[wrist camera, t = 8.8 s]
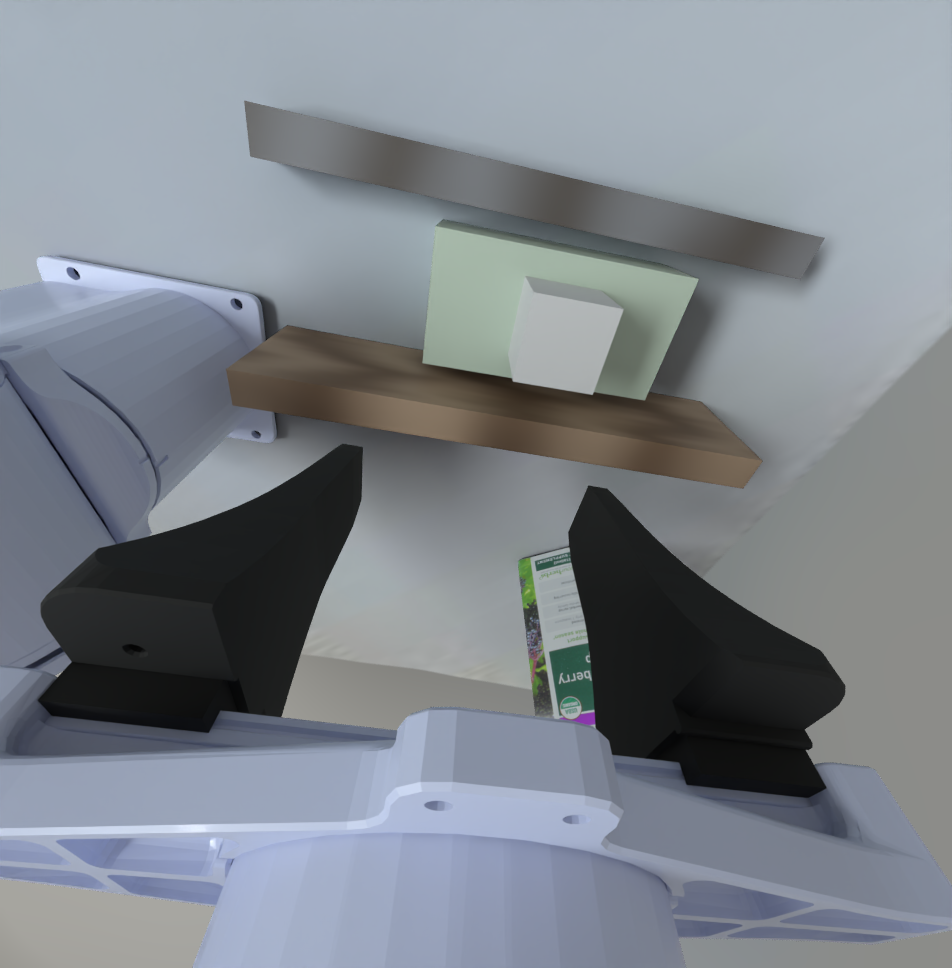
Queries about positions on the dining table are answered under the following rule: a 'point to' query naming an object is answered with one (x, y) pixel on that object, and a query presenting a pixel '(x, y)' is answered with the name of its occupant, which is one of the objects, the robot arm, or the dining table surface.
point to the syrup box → (556, 638)
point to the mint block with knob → (550, 311)
